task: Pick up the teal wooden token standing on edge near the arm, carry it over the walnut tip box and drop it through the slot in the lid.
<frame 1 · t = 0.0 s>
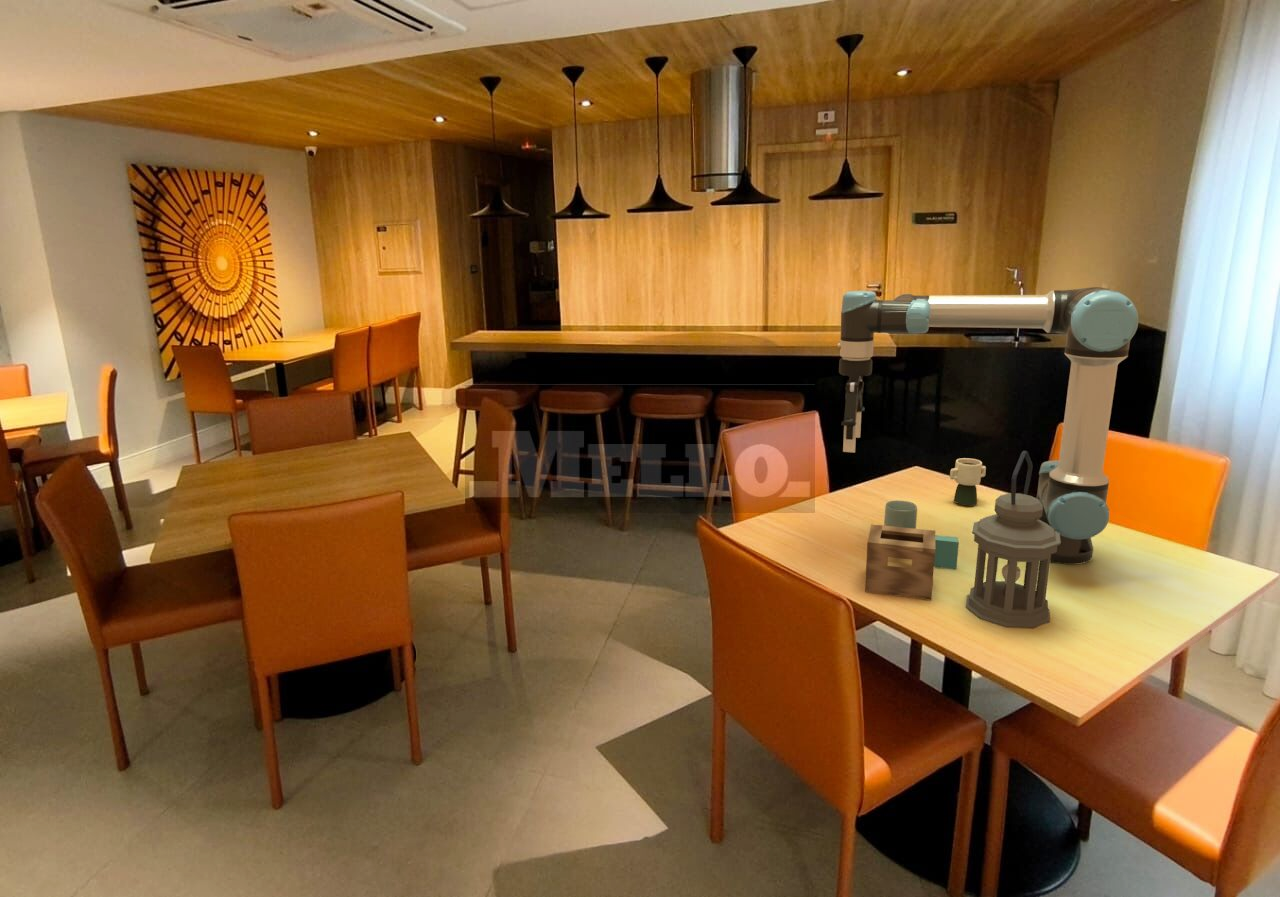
hand: (851, 444, 184), 28 cm above the table, fingers open, 13 cm apart
character mug: (964, 504, 220), on the table
token: (940, 565, 181), on the table
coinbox: (898, 585, 172), on the table
lantern: (1006, 609, 160), on the table
cup: (898, 542, 196), on the table
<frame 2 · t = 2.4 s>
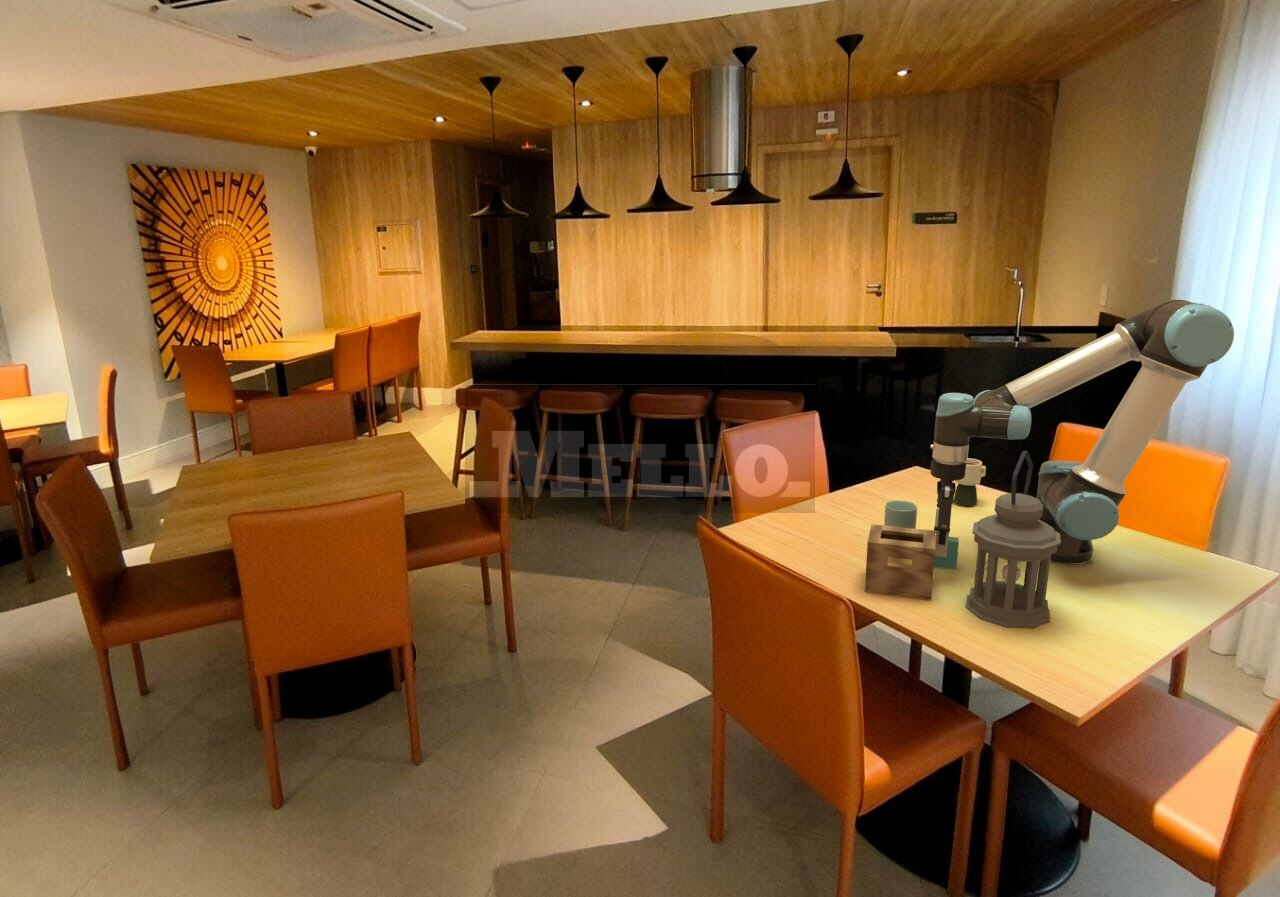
hand: (939, 544, 180), 5 cm above the table, fingers open, 13 cm apart
nothing on the table moved.
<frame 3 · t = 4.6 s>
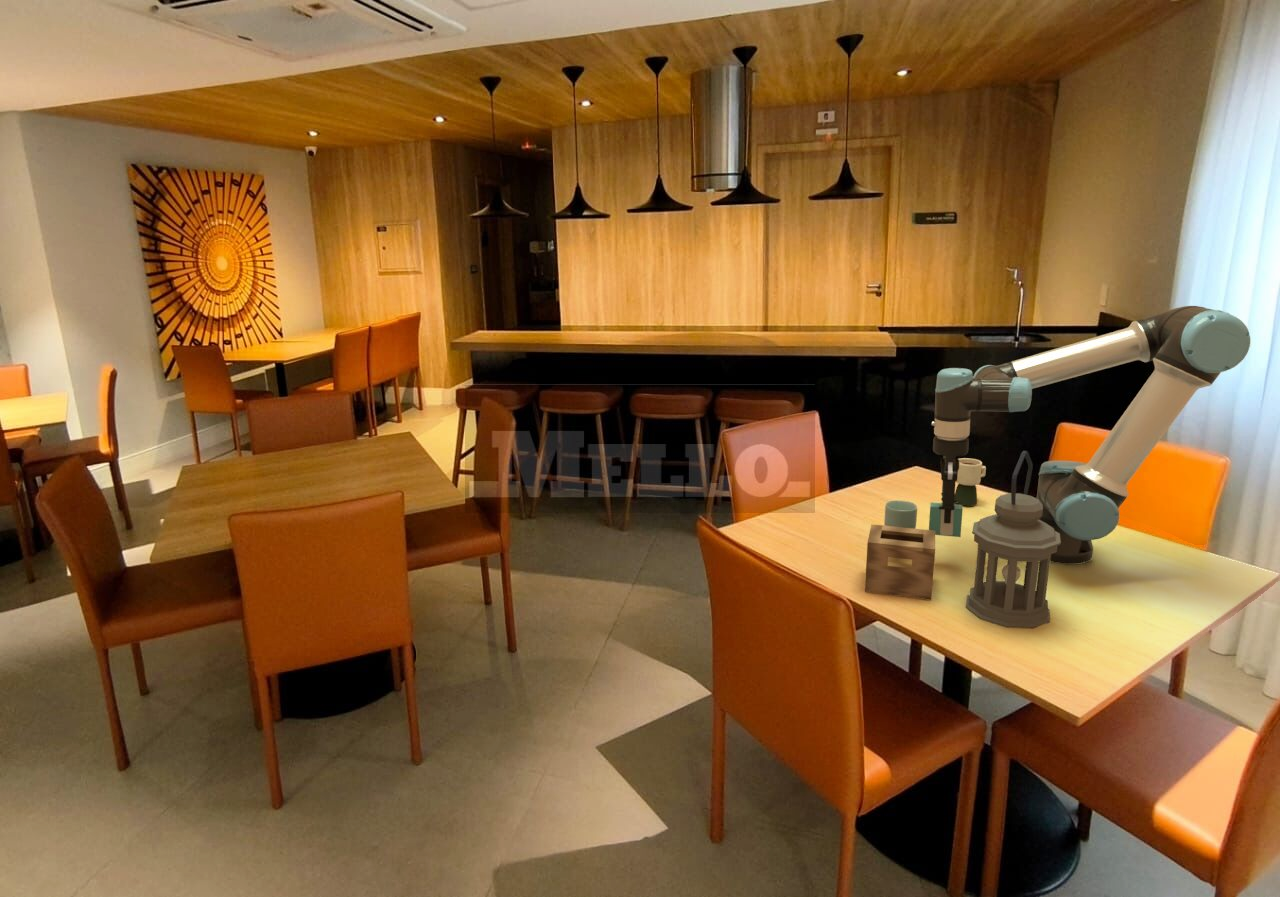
hand: (946, 531, 179), 9 cm above the table, fingers closed on token, 3 cm apart
token: (944, 533, 179), point 8 cm above the table, touching gripper
everything else where it was.
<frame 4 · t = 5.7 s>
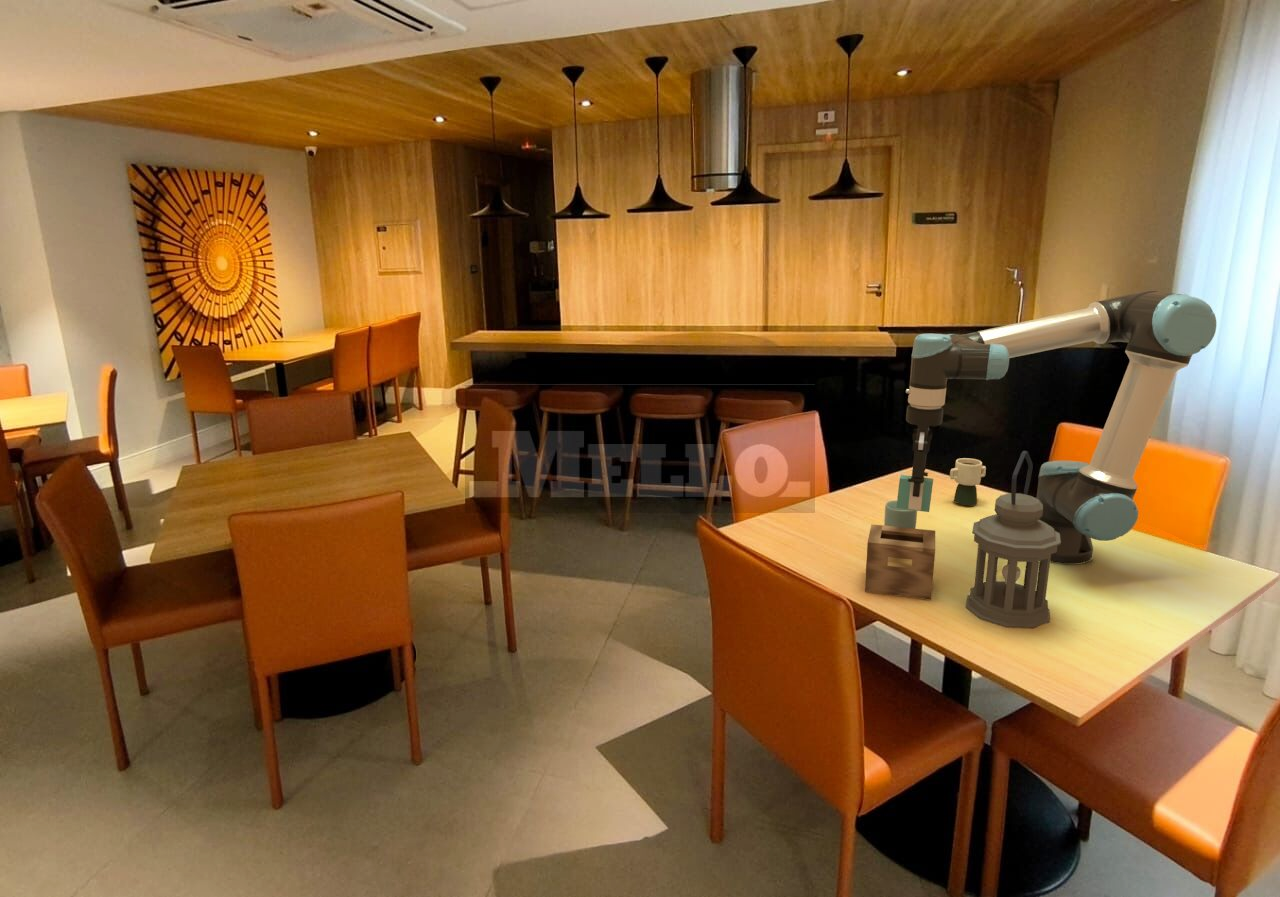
hand: (915, 506, 171), 18 cm above the table, fingers closed on token, 3 cm apart
token: (913, 507, 171), point 17 cm above the table, touching gripper
everything else where it was.
when the fingers open (13 cm above the table, at t = 6.8 s): token drops 12 cm, resting on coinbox.
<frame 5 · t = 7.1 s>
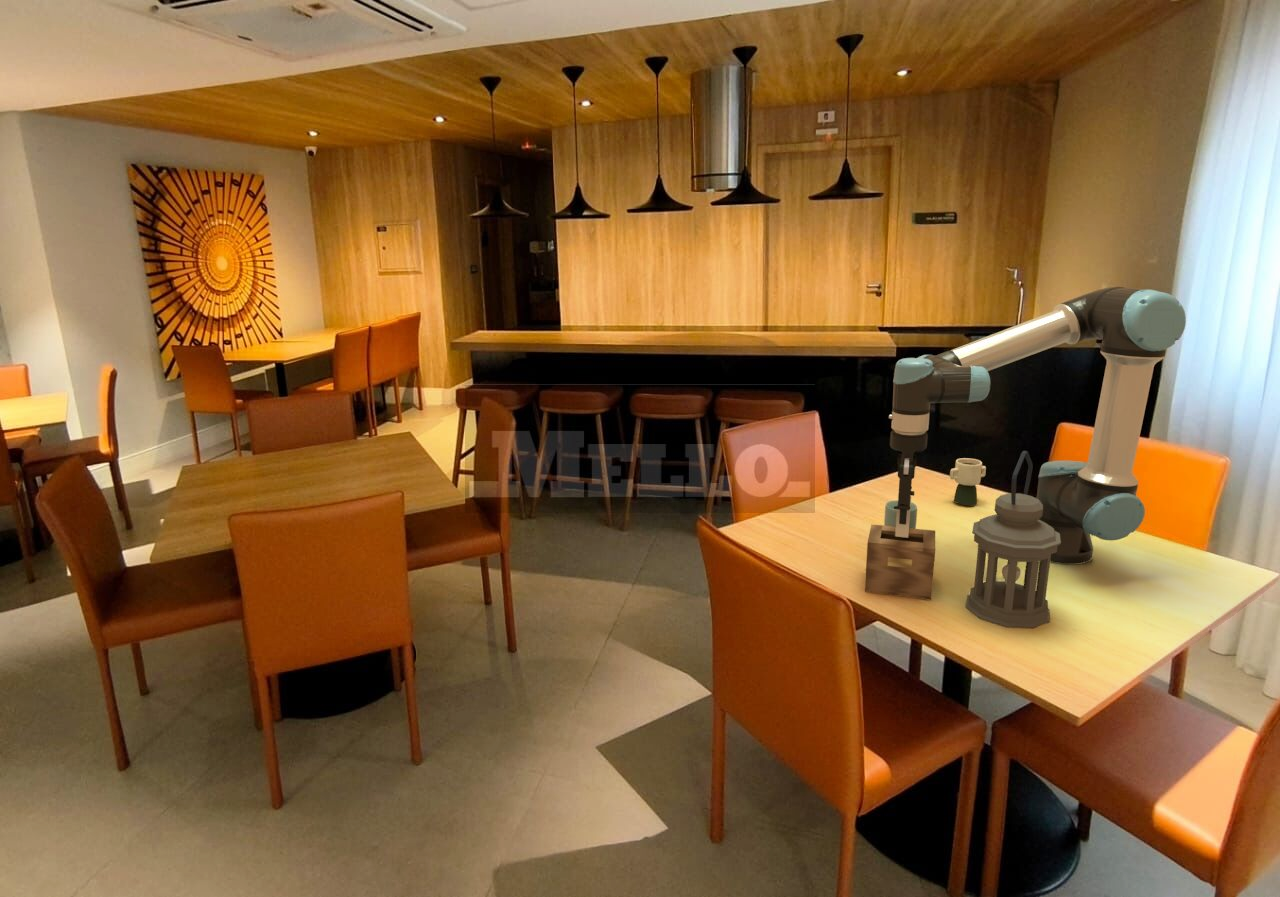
hand: (902, 529, 168), 14 cm above the table, fingers open, 7 cm apart
token: (897, 581, 172), point 1 cm above the table, touching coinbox
everything else where it was.
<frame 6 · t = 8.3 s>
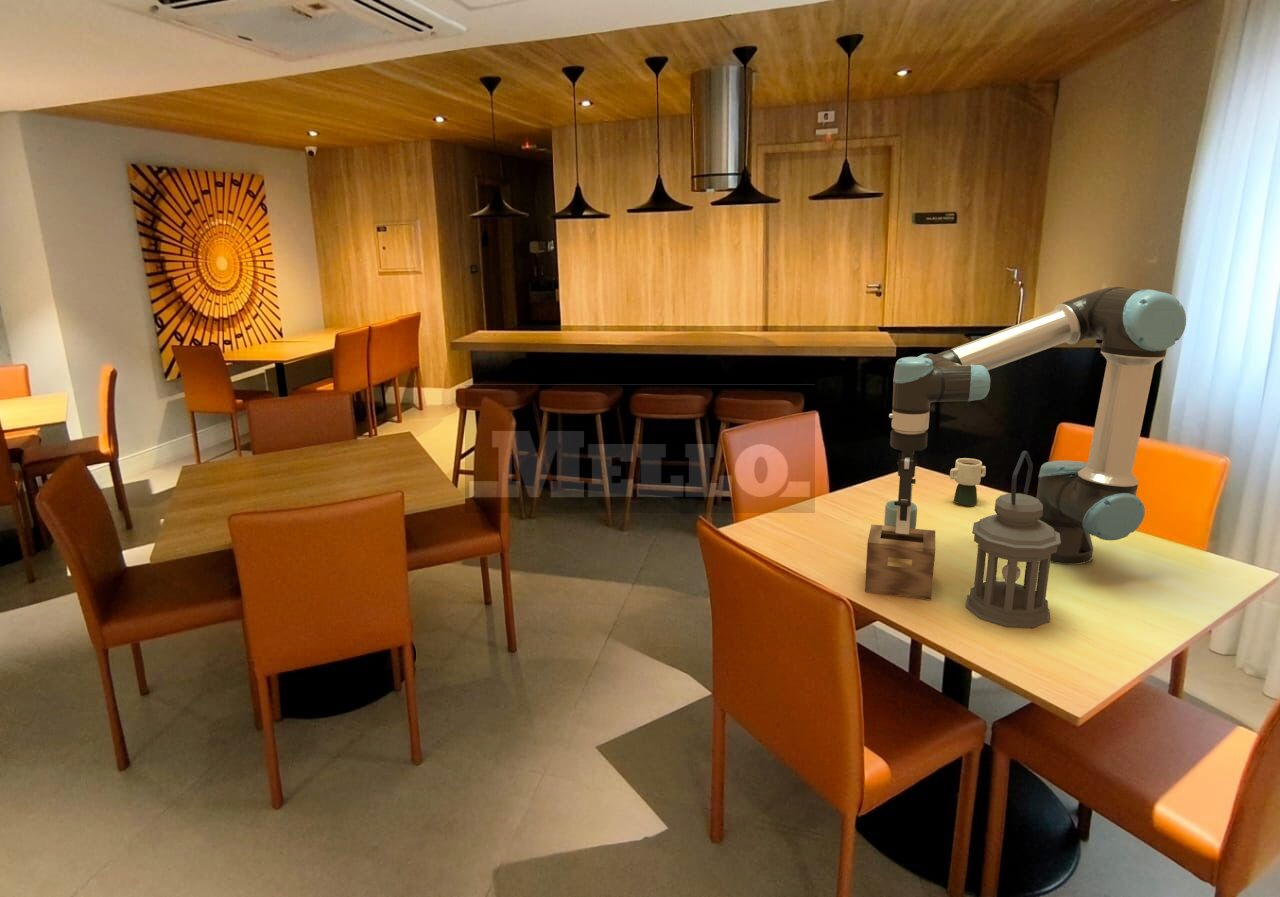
hand: (903, 522, 168), 15 cm above the table, fingers open, 13 cm apart
nothing on the table moved.
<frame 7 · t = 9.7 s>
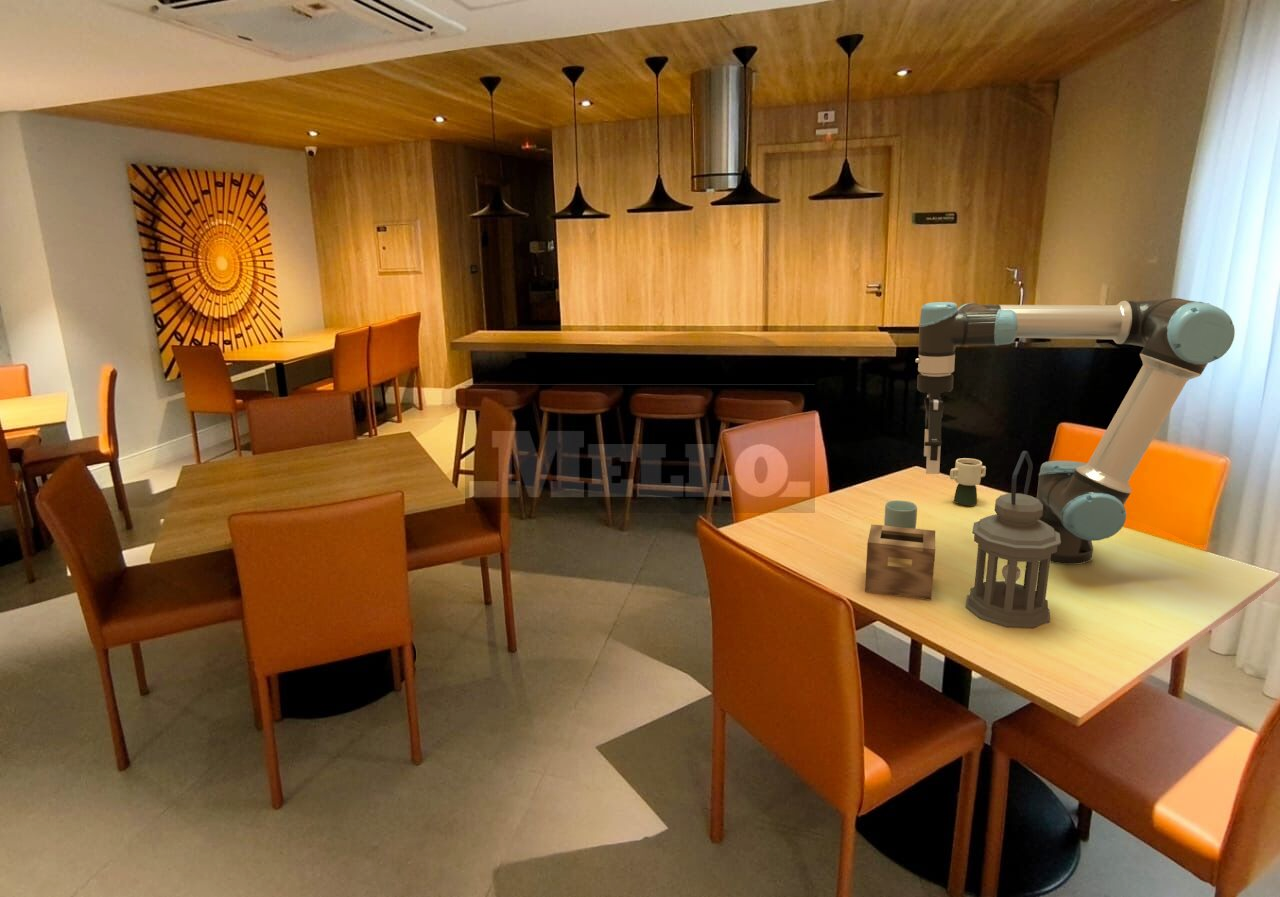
hand: (931, 464, 173), 26 cm above the table, fingers open, 13 cm apart
nothing on the table moved.
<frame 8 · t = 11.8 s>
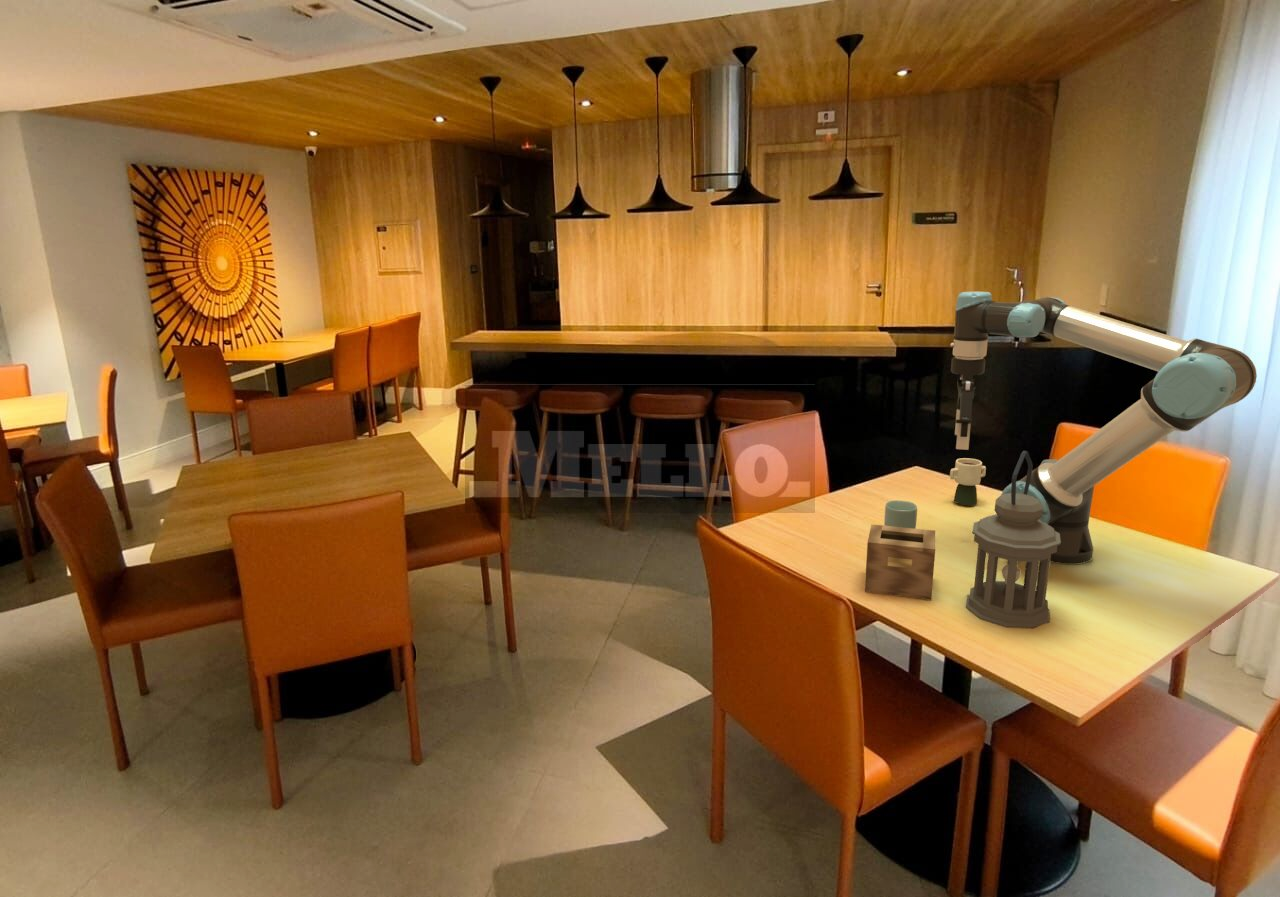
hand: (961, 441, 187), 27 cm above the table, fingers open, 13 cm apart
nothing on the table moved.
at the end: token inside the target area on the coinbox (0.4 cm from its centre), point 0.8 cm above the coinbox's base; the gripper is holding nothing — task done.
